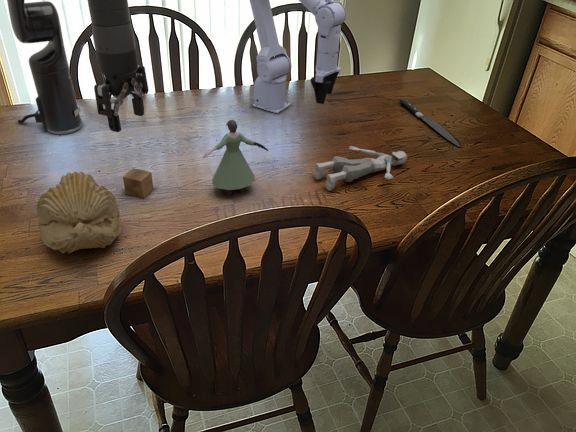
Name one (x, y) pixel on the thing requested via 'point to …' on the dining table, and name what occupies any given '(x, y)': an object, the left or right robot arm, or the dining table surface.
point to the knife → (429, 121)
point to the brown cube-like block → (138, 183)
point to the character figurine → (233, 162)
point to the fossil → (78, 214)
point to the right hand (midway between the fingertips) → (323, 98)
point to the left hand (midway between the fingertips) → (128, 122)
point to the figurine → (358, 166)
